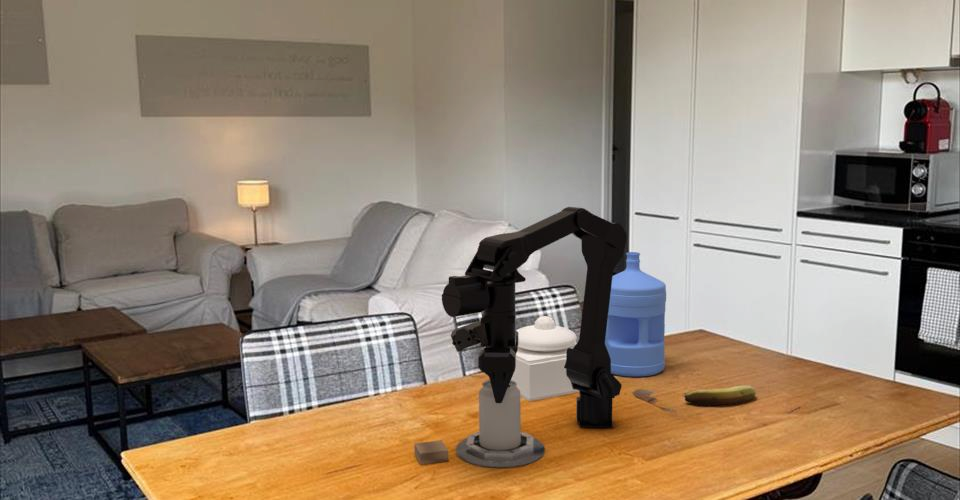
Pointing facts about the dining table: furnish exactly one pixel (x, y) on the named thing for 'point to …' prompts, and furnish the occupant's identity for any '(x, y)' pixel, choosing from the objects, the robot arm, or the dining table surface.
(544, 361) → the butter dish
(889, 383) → the dining table surface
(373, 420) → the dining table surface
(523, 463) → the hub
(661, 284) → the water jug
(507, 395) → the can
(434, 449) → the walnut block
